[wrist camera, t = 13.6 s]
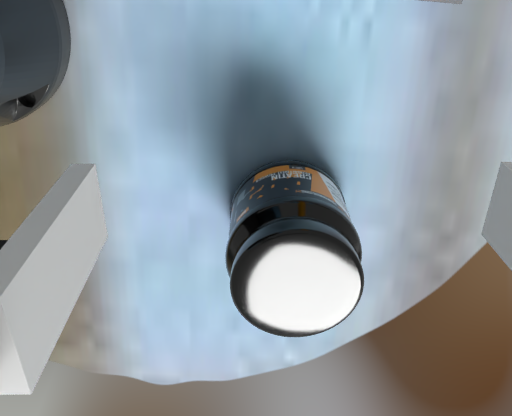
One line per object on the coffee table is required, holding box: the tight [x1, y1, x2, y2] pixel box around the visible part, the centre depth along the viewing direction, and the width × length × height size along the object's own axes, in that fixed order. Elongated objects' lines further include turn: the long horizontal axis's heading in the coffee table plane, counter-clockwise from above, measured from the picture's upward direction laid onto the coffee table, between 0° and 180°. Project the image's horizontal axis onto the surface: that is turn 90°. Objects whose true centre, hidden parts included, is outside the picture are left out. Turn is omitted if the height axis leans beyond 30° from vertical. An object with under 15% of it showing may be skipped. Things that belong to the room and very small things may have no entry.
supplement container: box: [225, 161, 364, 337], centre depth 38 cm, size 10×10×12 cm
